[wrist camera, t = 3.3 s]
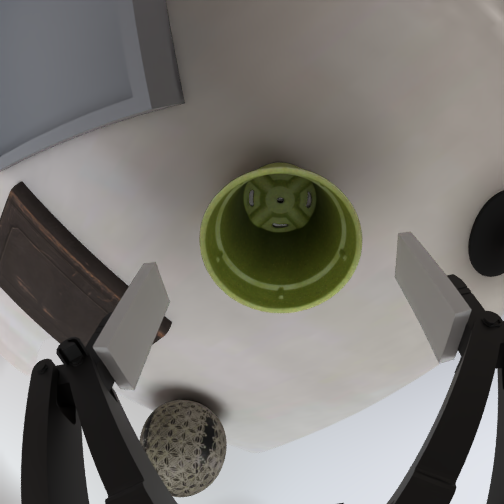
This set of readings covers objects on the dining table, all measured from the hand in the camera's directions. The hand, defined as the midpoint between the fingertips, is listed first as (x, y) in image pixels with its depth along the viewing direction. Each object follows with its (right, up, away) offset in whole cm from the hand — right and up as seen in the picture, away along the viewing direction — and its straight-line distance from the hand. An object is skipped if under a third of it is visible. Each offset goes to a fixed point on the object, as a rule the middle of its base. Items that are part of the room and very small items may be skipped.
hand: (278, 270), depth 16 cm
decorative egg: (-10, -21, +25) cm, 35 cm away
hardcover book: (-24, -3, +16) cm, 29 cm away
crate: (-19, +21, +2) cm, 28 cm away
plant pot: (+1, +5, +9) cm, 11 cm away
